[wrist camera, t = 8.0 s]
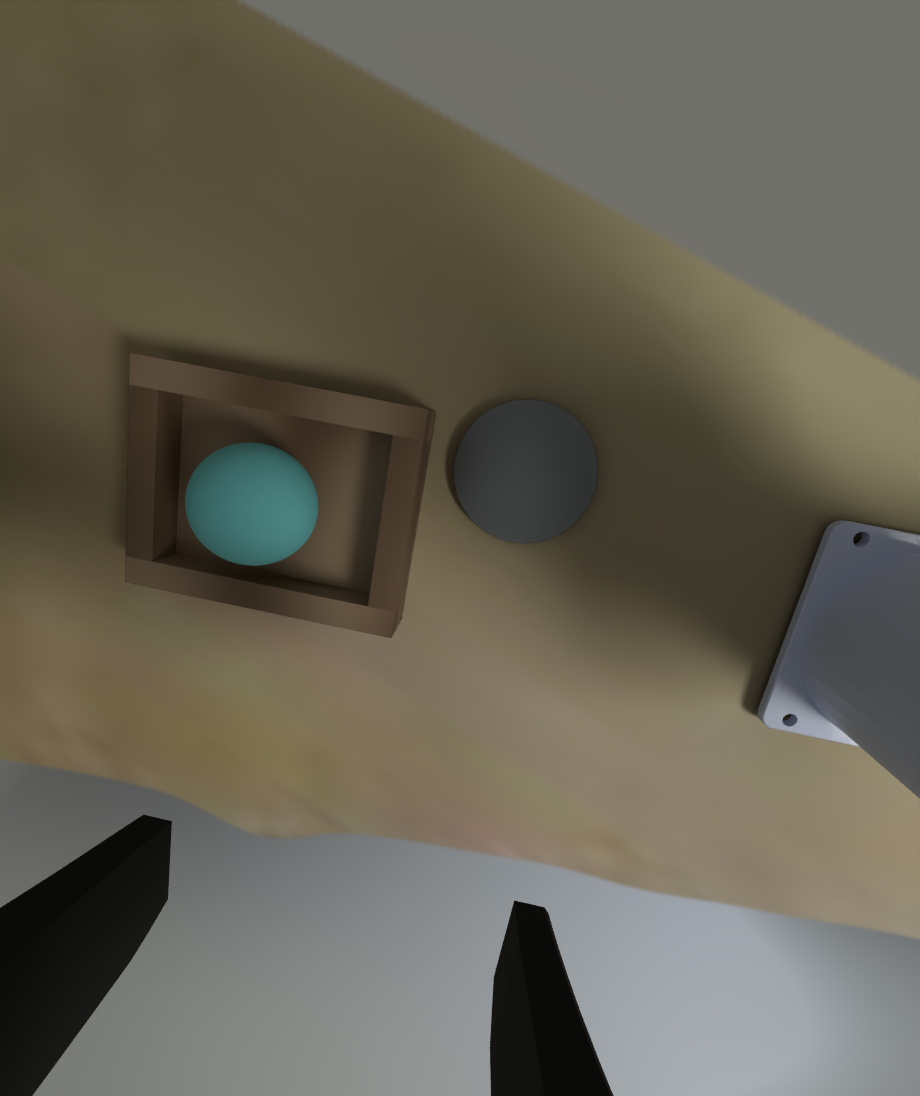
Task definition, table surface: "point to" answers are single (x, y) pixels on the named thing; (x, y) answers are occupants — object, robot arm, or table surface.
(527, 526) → the coaster
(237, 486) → the ball
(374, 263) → the table surface
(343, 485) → the tray
